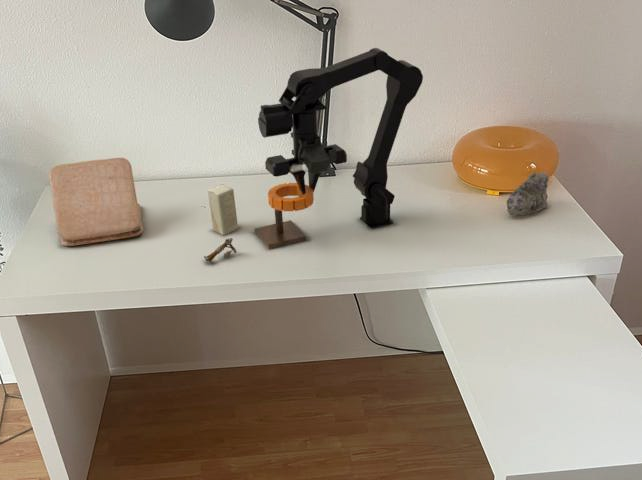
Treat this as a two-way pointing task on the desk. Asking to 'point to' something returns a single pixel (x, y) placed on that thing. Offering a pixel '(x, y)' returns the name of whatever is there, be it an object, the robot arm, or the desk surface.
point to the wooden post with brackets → (219, 249)
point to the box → (223, 209)
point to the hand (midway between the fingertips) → (307, 194)
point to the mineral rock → (529, 195)
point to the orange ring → (290, 203)
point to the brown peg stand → (280, 232)
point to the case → (95, 201)
